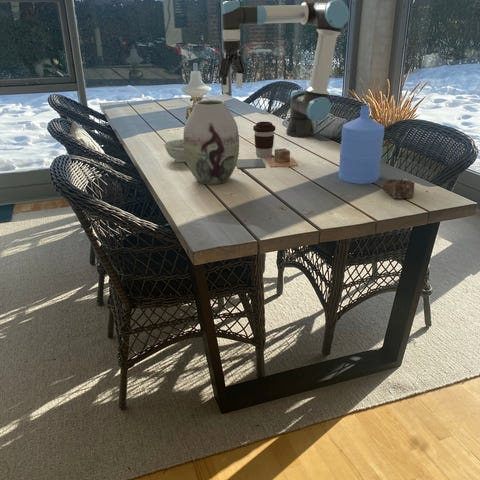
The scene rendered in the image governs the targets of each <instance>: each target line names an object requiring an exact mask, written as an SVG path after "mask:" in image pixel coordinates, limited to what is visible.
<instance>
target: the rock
mask: <svg viewBox="0 0 480 480" xmlns="http://www.w3.org/2000/svg"><path fill="white" fill-rule="evenodd" d="M382 189H383V191H385V192H386V193H388V194H390V196H392V197H393V199H398V200H399V199H400V200H401V199H412V198H413V197H414V194H415V182H414V181H413V180H408V179H394V178H392V179H384V183H383V187H382Z"/></svg>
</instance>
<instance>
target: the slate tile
mask: <svg viewBox="0 0 480 480" xmlns="http://www.w3.org/2000/svg"><path fill="white" fill-rule="evenodd" d="M266 167H267V166H266V164H265V162H264V160H263V157H260V158H243V159H241V158H240V159H239V158H238V160H237V164H236V169H237V170H240V169H241V170H242V169H245V170H247V169H261V168H262V169H263V168H265V169H266Z"/></svg>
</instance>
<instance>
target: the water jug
mask: <svg viewBox="0 0 480 480" xmlns="http://www.w3.org/2000/svg"><path fill="white" fill-rule="evenodd" d="M359 114H360V116H359V117H357V118H355V119H352V120H350V121H348V122H346V123H343V125H342V130H341V143H340V151H339V168H338V174H337V175H338V180H341V181H343V182H346V183H350V184H356V185H357V184H358V185H361V184H362V185H366V184H367V185H368V184H372V183H375V182H378V181H379V180H380V170H381V162H382V161H381V160H382V155H383V153H382V151H383V143H384V137H385V126H384V125H383V124H382V123H380V122H378V121H376V120H374V119H373V118H370V117H369V116H370V115H369V114H370V105H361V106H360V113H359Z"/></svg>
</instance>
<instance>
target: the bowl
mask: <svg viewBox="0 0 480 480" xmlns="http://www.w3.org/2000/svg"><path fill="white" fill-rule="evenodd" d="M163 146H164V148H165V150H166V153H167V154H168V155H169V156H170V158H172V159H174V161H175V162H178V163H187V161H186V158H185V153H184V145H183V138H182V139H181V138H180V139H174V140H173V139H172V140H168V141H165V142H164V143H163Z"/></svg>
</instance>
